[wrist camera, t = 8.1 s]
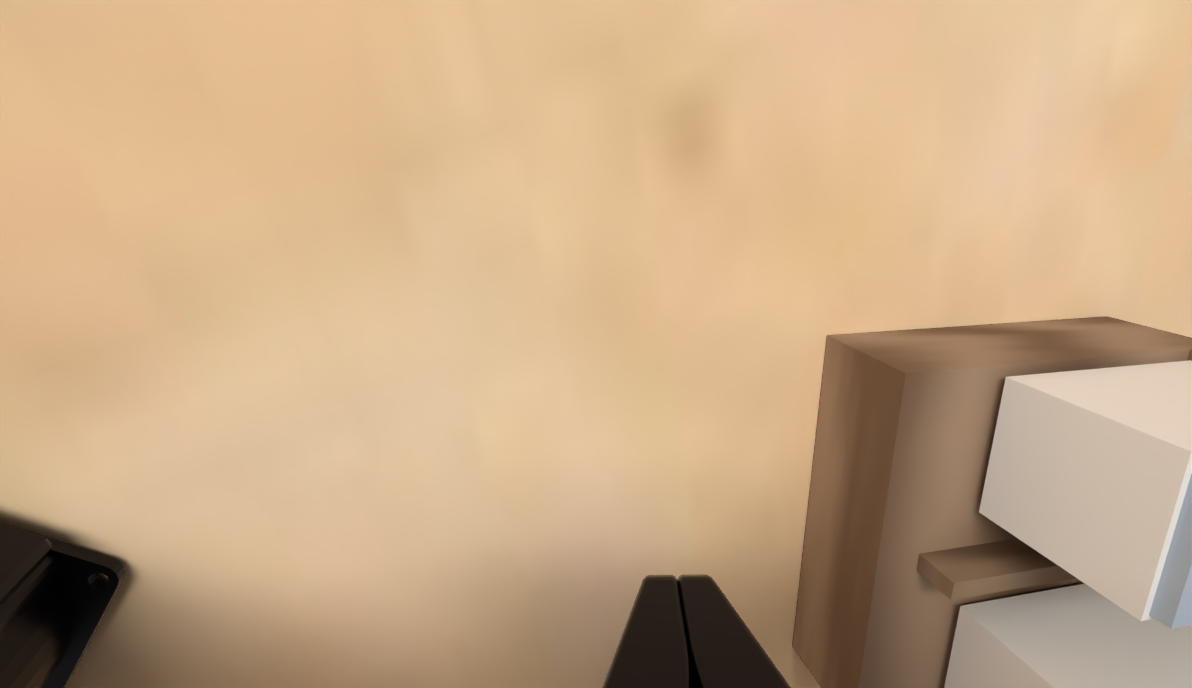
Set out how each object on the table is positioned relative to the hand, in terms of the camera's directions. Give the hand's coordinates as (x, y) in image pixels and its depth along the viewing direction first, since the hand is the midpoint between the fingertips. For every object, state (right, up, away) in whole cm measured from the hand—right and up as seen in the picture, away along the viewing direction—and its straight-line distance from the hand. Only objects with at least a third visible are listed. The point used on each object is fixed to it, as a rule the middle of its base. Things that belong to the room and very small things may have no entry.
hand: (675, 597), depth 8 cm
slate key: (+14, 0, +12) cm, 19 cm away
